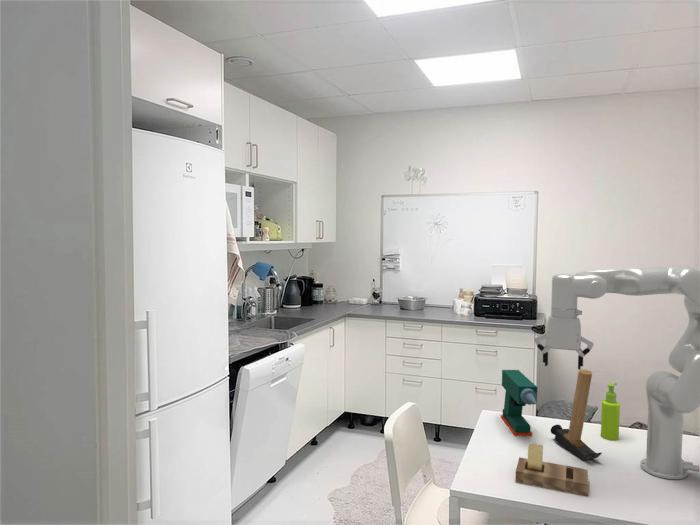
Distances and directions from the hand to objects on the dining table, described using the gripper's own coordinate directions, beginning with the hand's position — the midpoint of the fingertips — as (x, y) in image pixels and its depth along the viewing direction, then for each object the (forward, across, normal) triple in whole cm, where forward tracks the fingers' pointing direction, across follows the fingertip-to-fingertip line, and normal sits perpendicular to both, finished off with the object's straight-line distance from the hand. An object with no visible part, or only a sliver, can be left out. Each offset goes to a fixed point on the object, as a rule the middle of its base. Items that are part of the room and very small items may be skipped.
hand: (562, 366), depth 160 cm
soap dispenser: (+34, -16, -34) cm, 50 cm away
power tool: (+34, +14, -24) cm, 44 cm away
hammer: (+34, -4, -16) cm, 37 cm away
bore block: (+33, +2, +10) cm, 35 cm away
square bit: (+33, +7, +10) cm, 35 cm away
